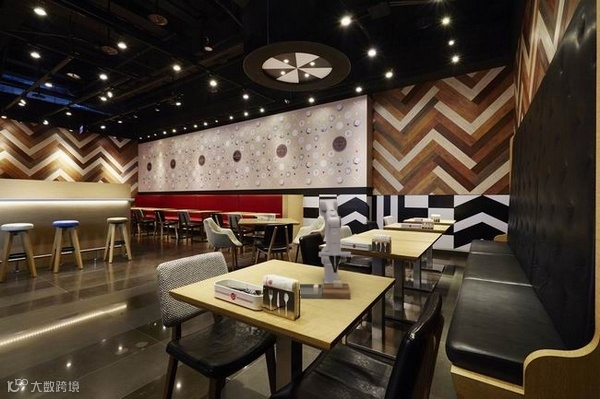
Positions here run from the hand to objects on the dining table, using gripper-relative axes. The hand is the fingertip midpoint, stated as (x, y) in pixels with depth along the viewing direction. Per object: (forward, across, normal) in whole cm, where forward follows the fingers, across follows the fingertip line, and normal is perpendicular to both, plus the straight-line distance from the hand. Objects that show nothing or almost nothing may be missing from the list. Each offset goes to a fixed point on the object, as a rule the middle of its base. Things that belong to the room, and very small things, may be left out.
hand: (335, 272), depth 122 cm
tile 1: (+7, -8, -3) cm, 11 cm away
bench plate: (+10, 0, 0) cm, 10 cm away
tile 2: (+7, +1, +3) cm, 8 cm away
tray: (+10, -12, 0) cm, 16 cm away
